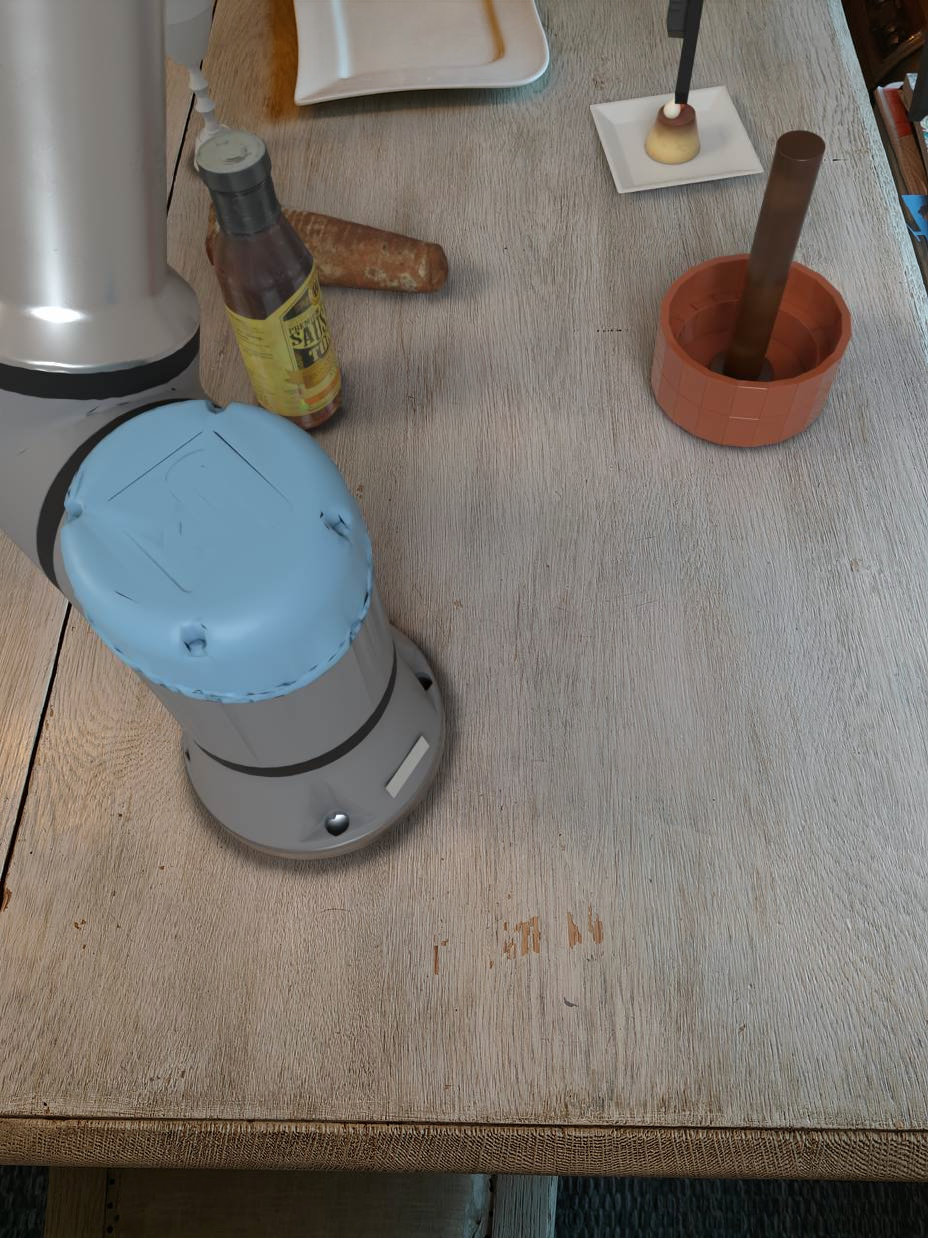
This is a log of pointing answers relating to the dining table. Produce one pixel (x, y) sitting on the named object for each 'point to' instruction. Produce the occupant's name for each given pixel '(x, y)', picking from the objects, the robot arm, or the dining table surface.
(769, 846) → the dining table surface
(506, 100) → the dining table surface
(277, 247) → the sauce bottle
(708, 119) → the dessert
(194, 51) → the chalice
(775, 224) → the wooden peg on base
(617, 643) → the dining table surface
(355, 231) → the bread
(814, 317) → the bowl
